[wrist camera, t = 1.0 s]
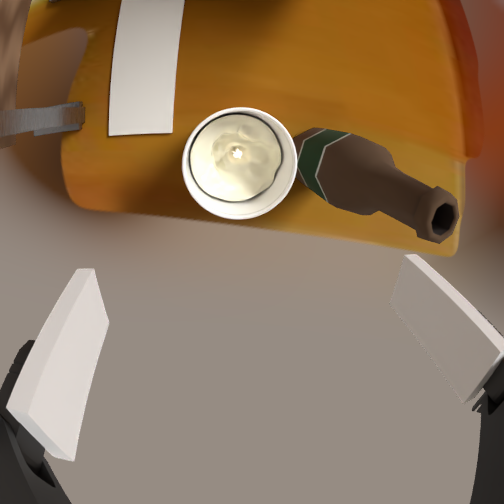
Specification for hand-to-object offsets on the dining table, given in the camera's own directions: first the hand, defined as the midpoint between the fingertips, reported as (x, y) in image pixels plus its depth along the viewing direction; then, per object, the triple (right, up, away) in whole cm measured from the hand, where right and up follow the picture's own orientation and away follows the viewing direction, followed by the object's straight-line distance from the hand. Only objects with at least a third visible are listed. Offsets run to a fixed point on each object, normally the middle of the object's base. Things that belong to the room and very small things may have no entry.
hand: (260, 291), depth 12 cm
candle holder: (-3, +14, +23) cm, 27 cm away
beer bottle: (+8, +14, +25) cm, 30 cm away
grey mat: (-13, +27, +14) cm, 34 cm away
